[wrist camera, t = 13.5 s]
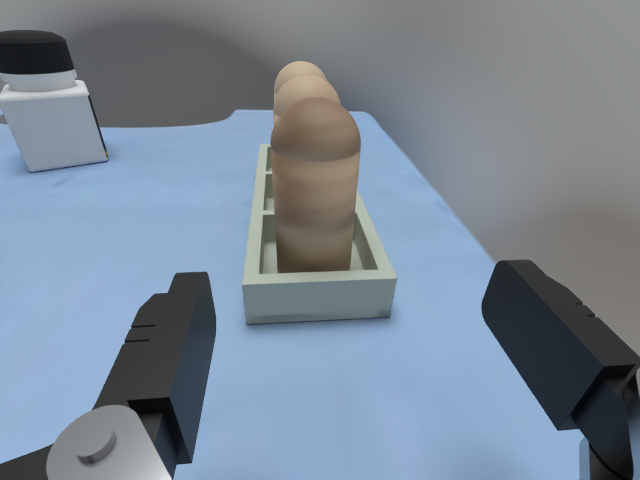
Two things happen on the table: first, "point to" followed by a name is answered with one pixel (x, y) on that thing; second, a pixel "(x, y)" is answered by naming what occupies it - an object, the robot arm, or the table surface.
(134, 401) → the robot arm
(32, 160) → the medicine bottle
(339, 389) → the table surface
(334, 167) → the round-topped wooden peg
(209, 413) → the table surface
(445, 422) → the table surface
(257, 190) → the compartment tray
